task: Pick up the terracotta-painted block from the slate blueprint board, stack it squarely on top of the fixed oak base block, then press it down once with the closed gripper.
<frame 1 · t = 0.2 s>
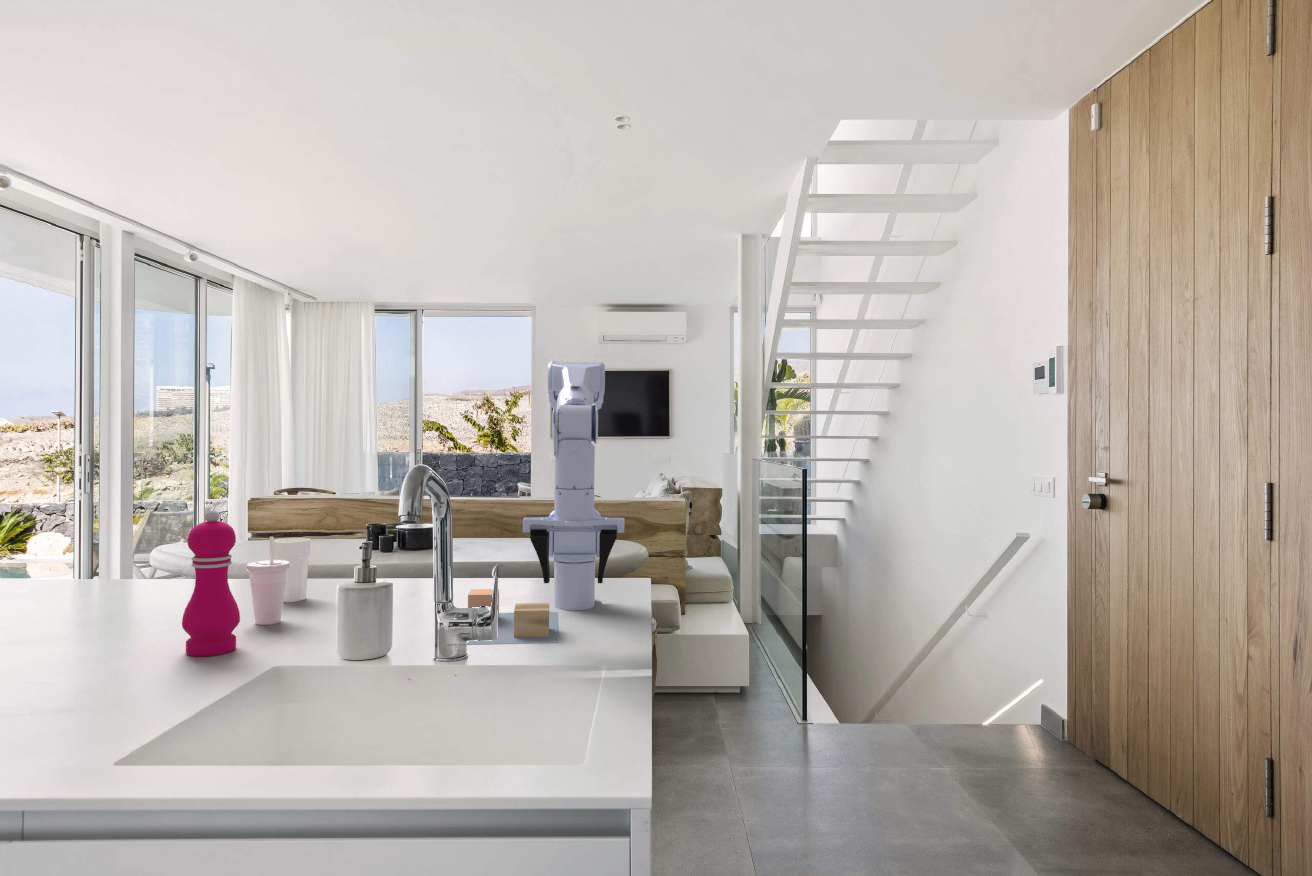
hand: (573, 582, 116), 10 cm above the worktop, tool pointing down, fingers open, 7 cm apart
terracotta block: (483, 620, 131), point 1 cm above the worktop, touching blueprint board
blueprint board: (506, 632, 126), on the worktop
smoothie: (268, 623, 131), on the worktop
oak base block: (531, 632, 123), resting on blueprint board
pepper mill: (211, 652, 114), on the worktop
cup: (290, 600, 149), on the worktop
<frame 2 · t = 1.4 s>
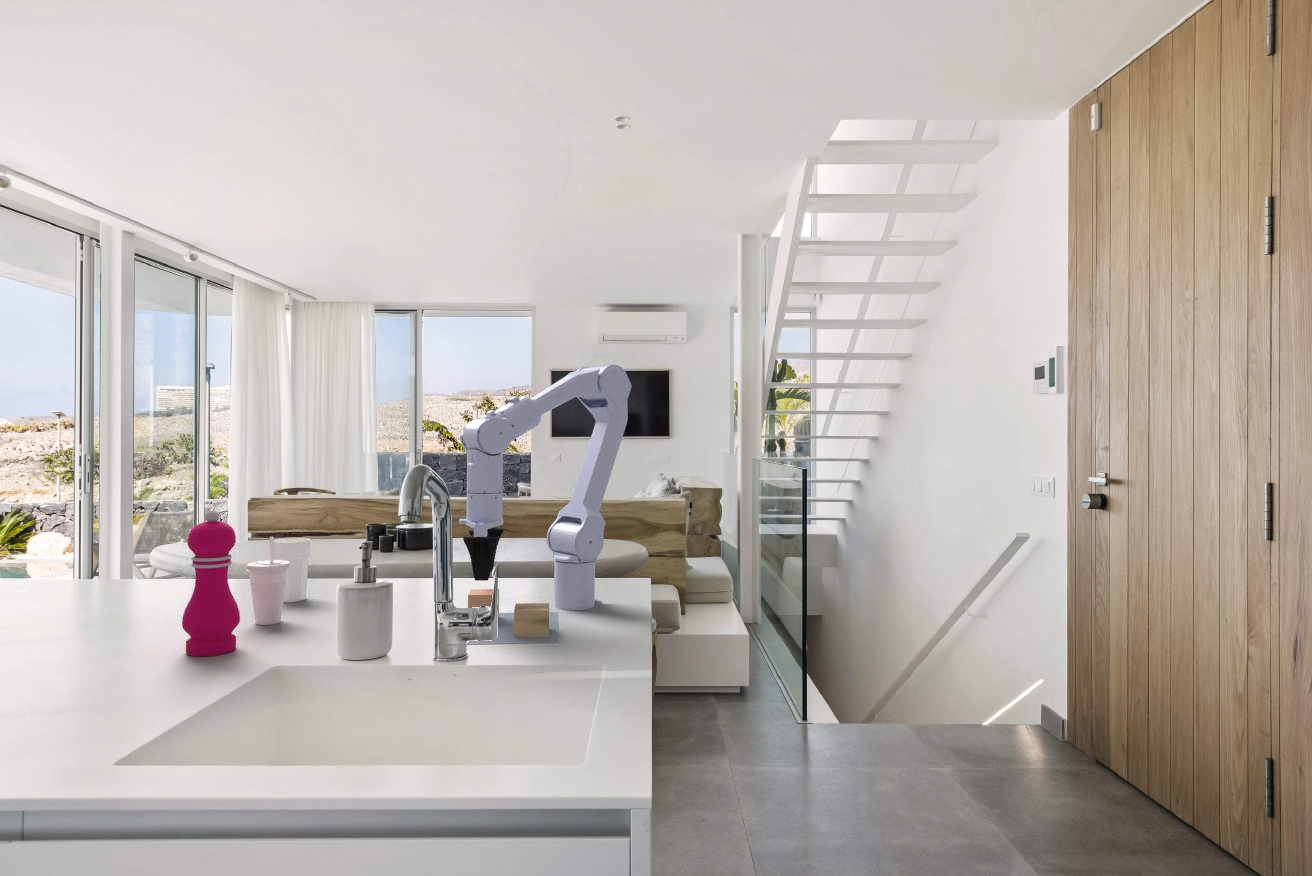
hand: (483, 575, 131), 8 cm above the worktop, tool pointing down, fingers open, 7 cm apart
nothing on the worktop moved.
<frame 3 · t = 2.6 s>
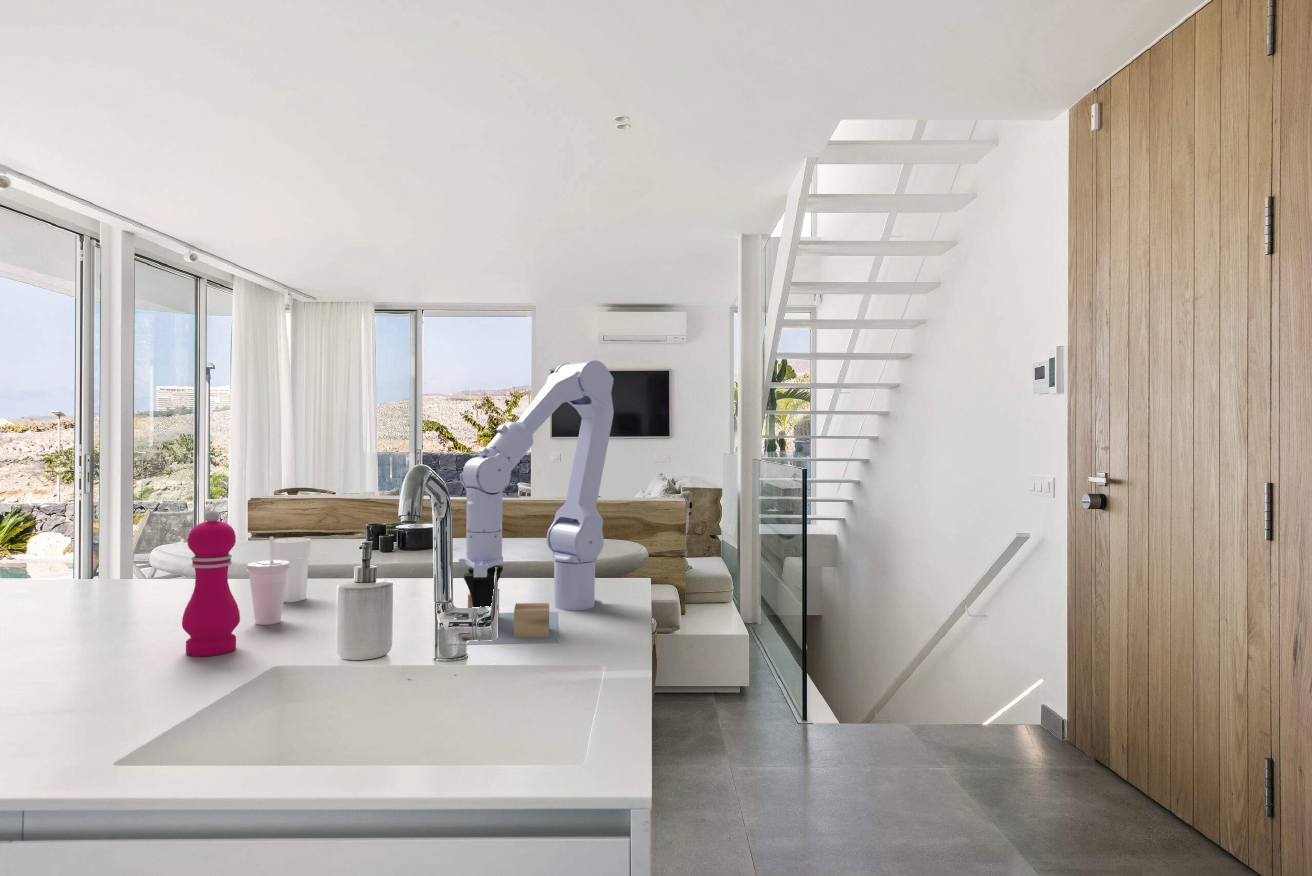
hand: (483, 614, 131), 2 cm above the worktop, tool pointing down, fingers closed on terracotta block, 5 cm apart
terracotta block: (483, 620, 131), point 1 cm above the worktop, touching blueprint board, gripper
everything else where it was.
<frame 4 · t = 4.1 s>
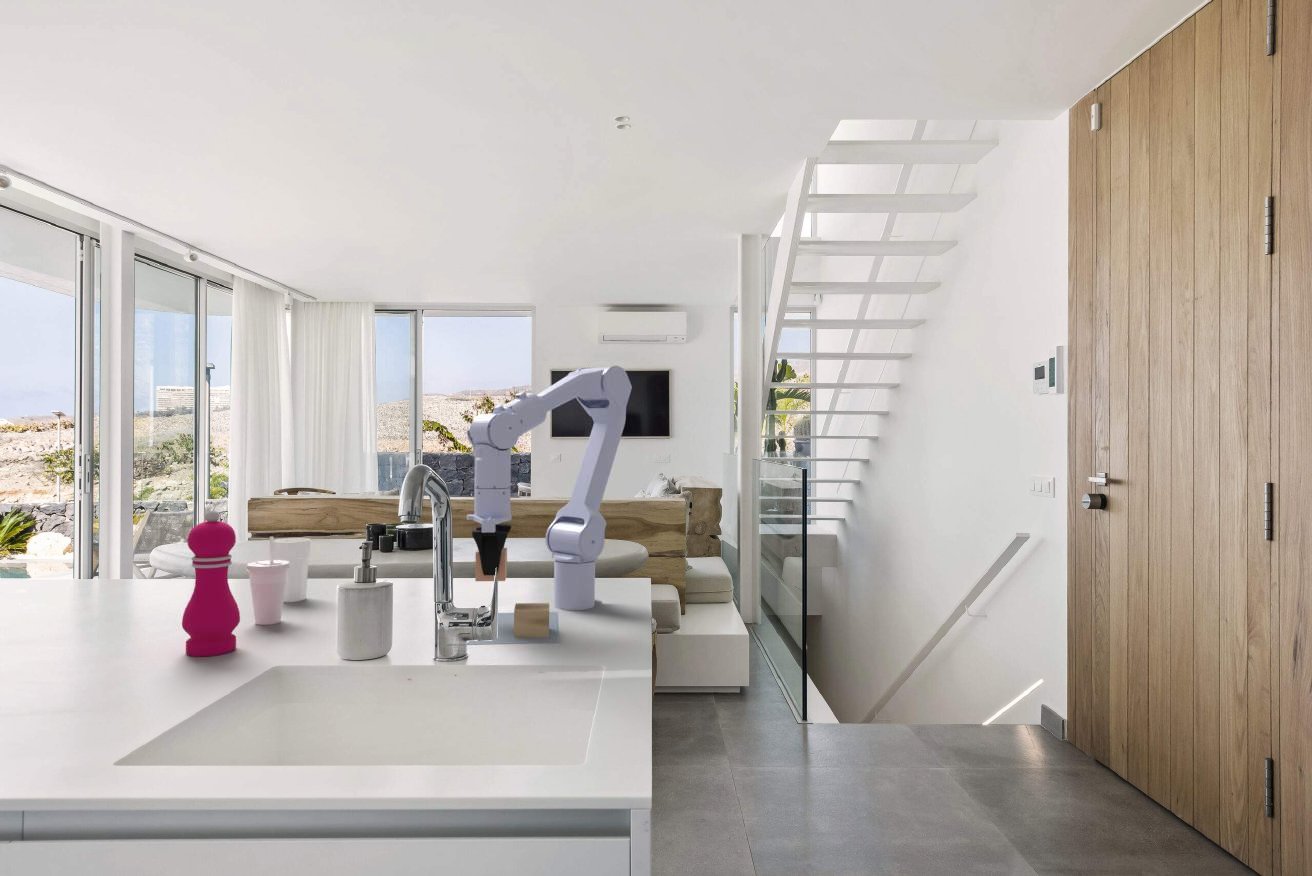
hand: (491, 572, 129), 9 cm above the worktop, tool pointing down, fingers closed on terracotta block, 5 cm apart
terracotta block: (491, 578, 129), point 8 cm above the worktop, touching gripper
everything else where it was.
when the fingers open (7 cm above the worktop, at t = 5.7 s): terracotta block stays where it is, resting on oak base block.
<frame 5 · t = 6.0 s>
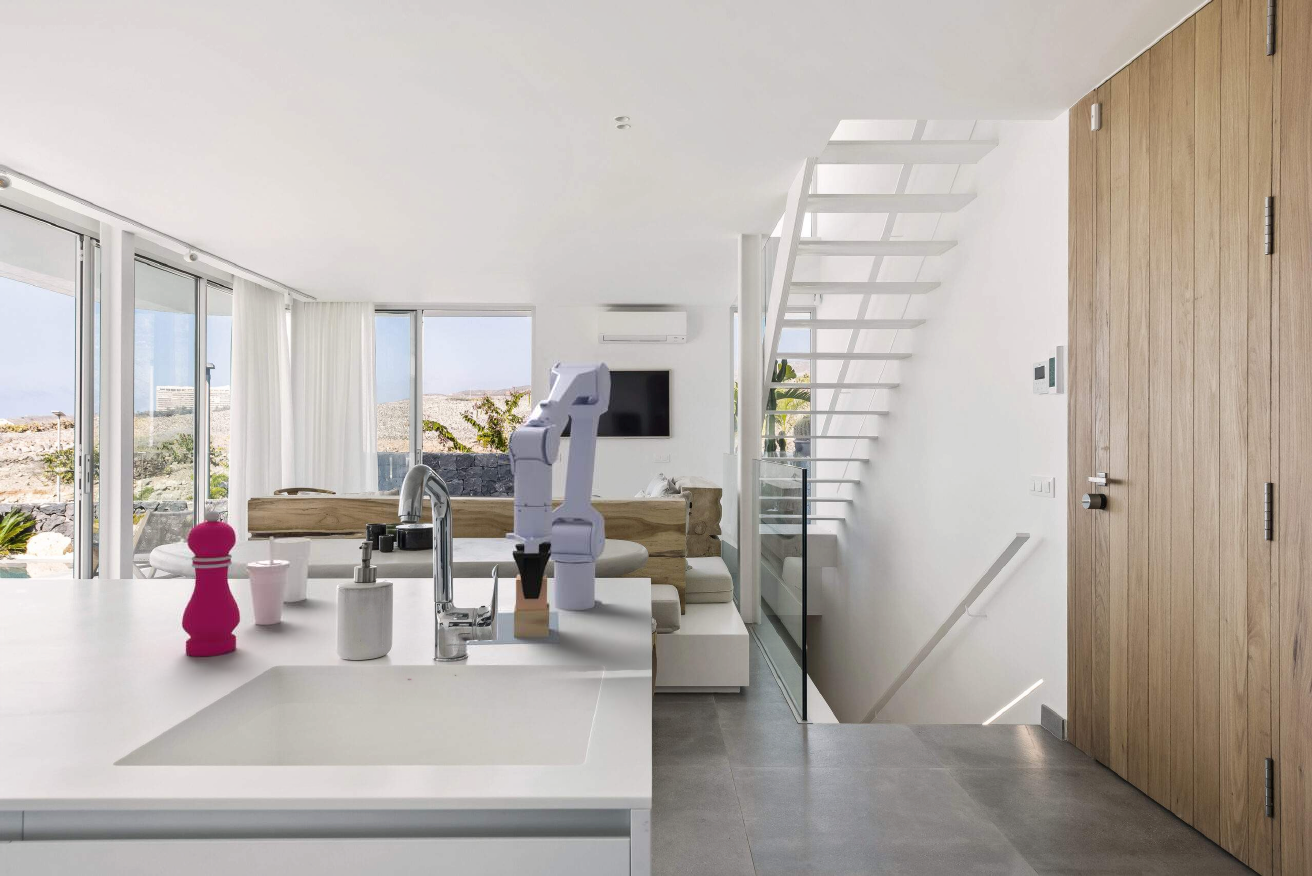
hand: (532, 593, 123), 7 cm above the worktop, tool pointing down, fingers open, 7 cm apart
terracotta block: (531, 606, 123), point 5 cm above the worktop, touching oak base block
everything else where it was.
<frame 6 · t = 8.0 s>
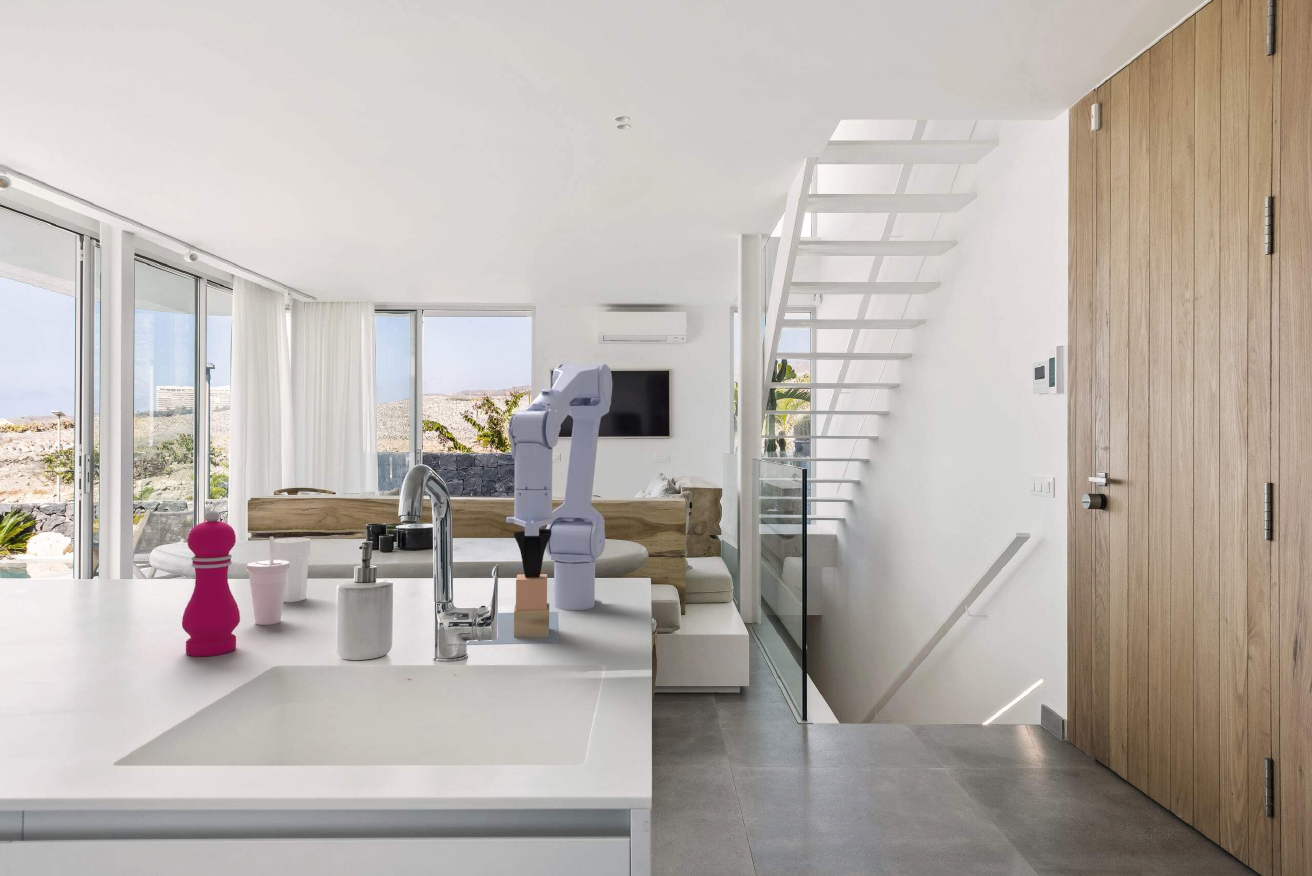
hand: (532, 577, 123), 9 cm above the worktop, tool pointing down, fingers closed, pressing on terracotta block
terracotta block: (531, 606, 123), point 5 cm above the worktop, touching gripper, oak base block
everything else where it was.
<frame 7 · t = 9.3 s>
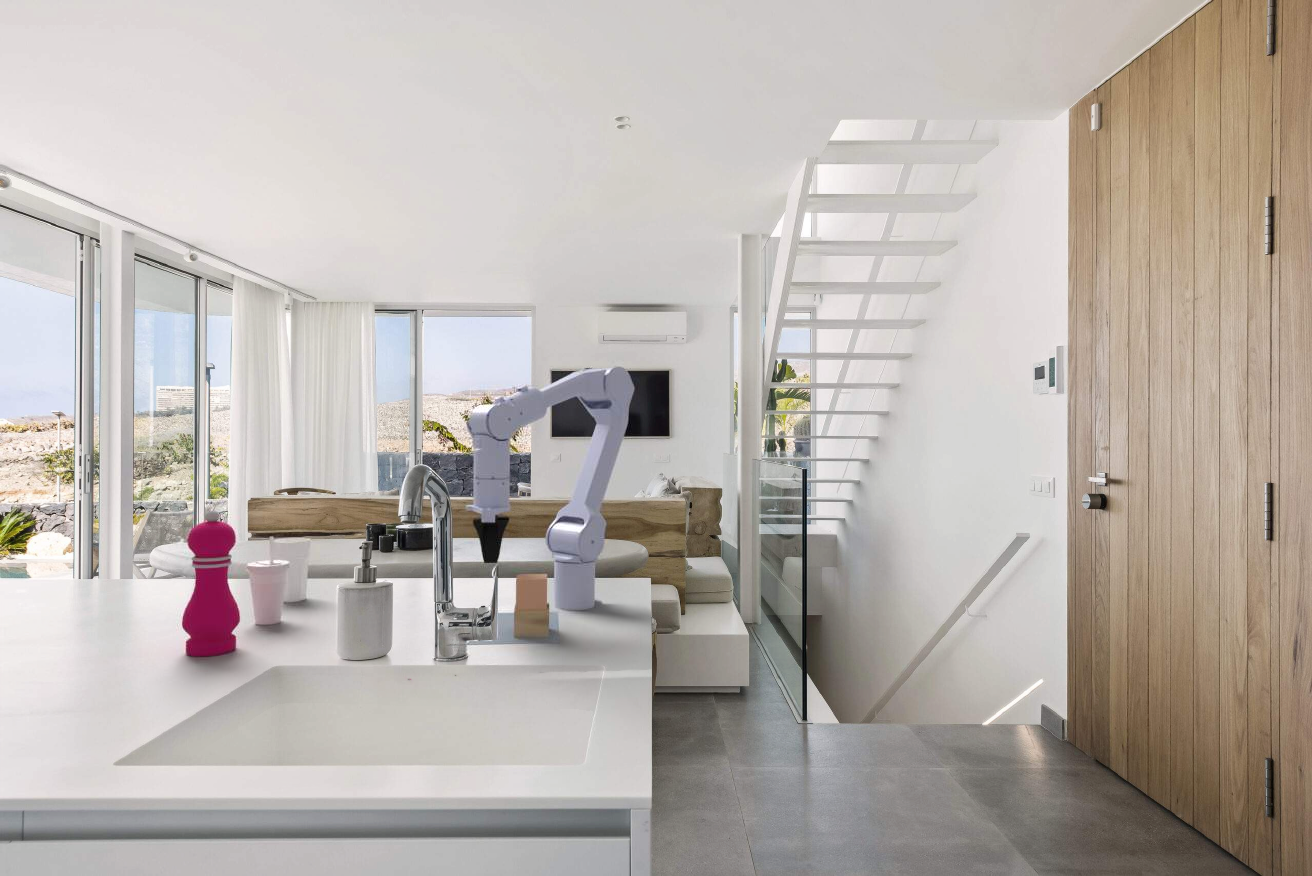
hand: (490, 562, 130), 10 cm above the worktop, tool pointing down, fingers closed
terracotta block: (531, 606, 123), point 5 cm above the worktop, touching oak base block
everything else where it was.
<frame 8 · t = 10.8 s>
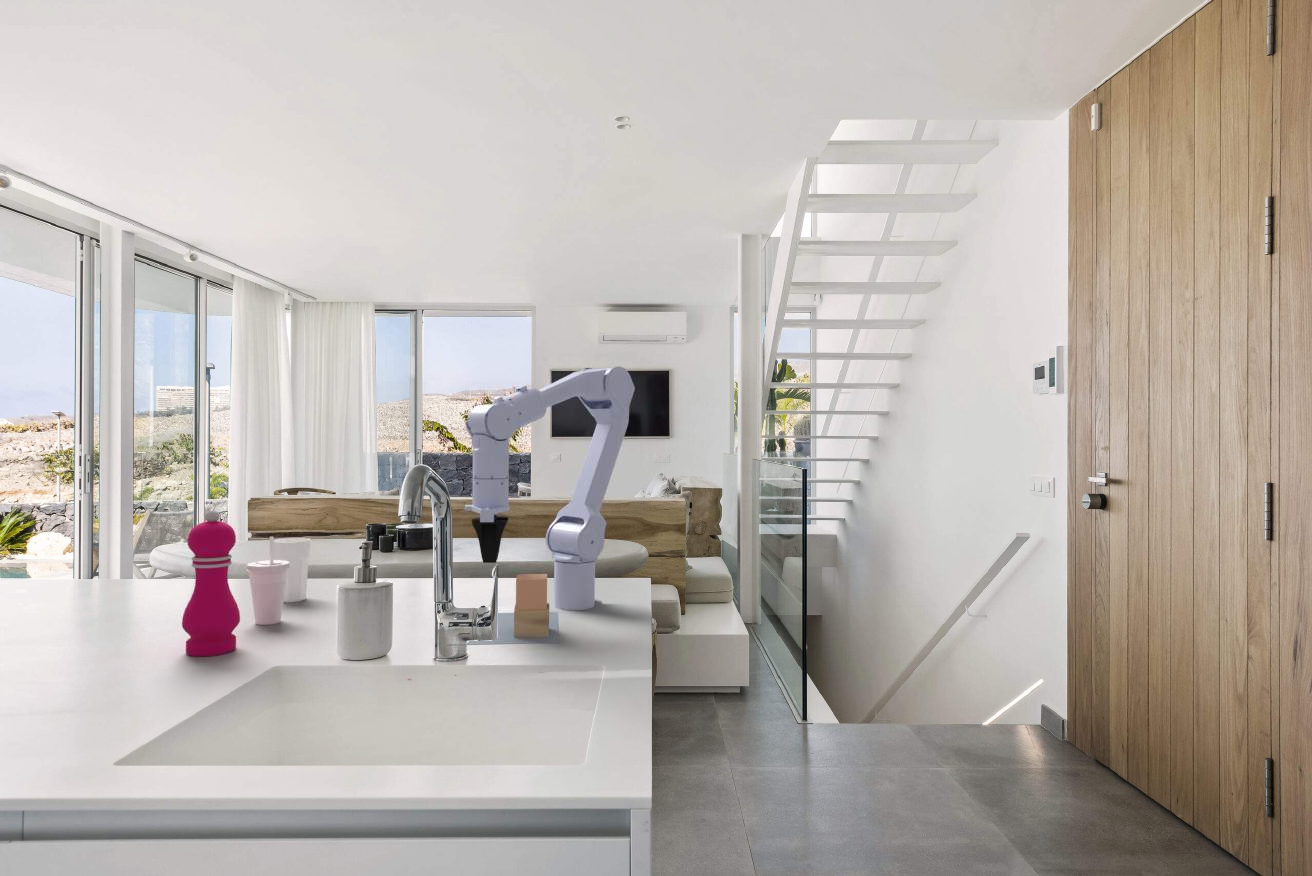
hand: (489, 562, 130), 10 cm above the worktop, tool pointing down, fingers closed
nothing on the worktop moved.
at the end: terracotta block 0.1 cm off-centre on the oak base block, point 4.0 cm above the oak base block's base; terracotta block tilted 0°; the gripper is holding nothing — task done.
